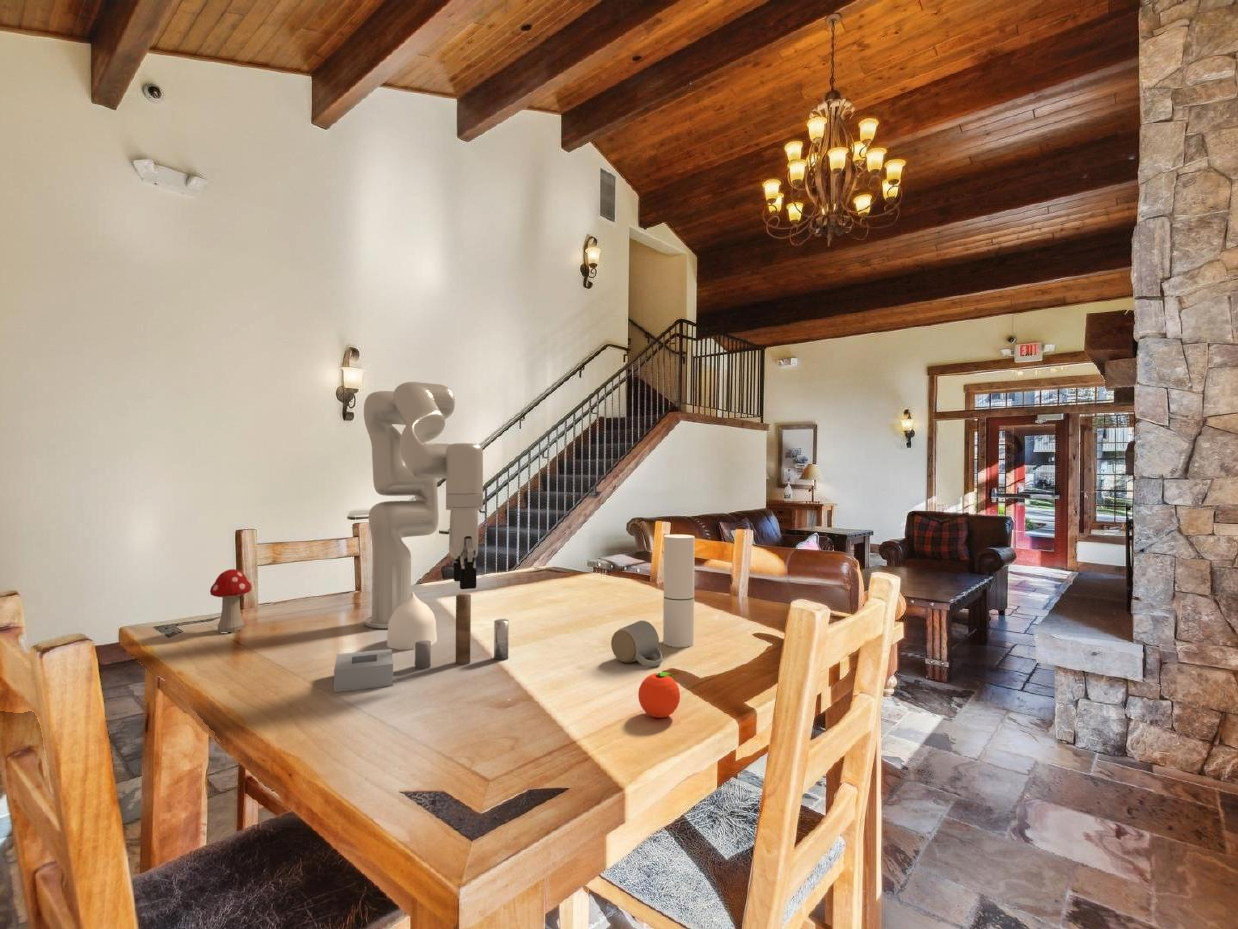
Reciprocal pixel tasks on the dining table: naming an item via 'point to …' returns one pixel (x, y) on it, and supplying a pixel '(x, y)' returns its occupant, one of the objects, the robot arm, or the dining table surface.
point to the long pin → (463, 628)
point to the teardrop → (411, 624)
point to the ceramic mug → (637, 644)
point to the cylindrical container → (678, 590)
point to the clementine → (659, 695)
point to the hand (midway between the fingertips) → (464, 584)
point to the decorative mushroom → (230, 598)
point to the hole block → (363, 670)
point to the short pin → (423, 654)
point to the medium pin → (501, 639)
